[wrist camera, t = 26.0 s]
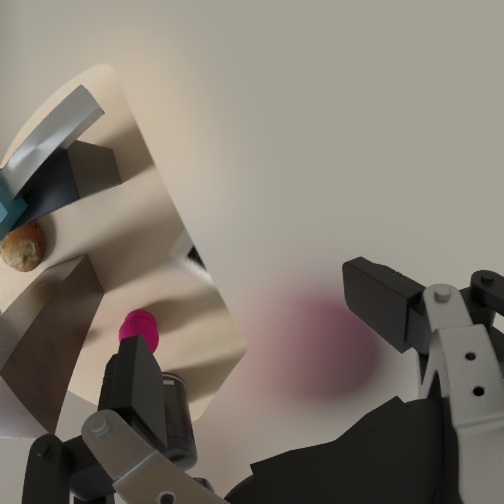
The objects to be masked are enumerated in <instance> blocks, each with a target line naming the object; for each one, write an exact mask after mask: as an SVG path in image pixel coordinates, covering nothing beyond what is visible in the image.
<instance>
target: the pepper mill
mask: <svg viewBox="0 0 504 504" xmlns="http://www.w3.org/2000/svg"><path fill="white" fill-rule="evenodd" d="M156 328H157V325H156V321H155V319H154V318H153V316H151V315H150V314H149V313H147V312H145V311H133V312H131V313H129V314H128V315H127V316H126V318H125V321H124V323H123V325H122V326H121V328H120V331H119V341H121V339H122V338H125V337H129V336H132V335H136V334H139V333H140V334H141V335H142V336H143V337H144V339H145V341H146V343H147V345H148V347H149V348H150V350H151V352H152V354H153V353H154V352H155V350H156V348H157V346H158V341H159V335H158V331H157V329H156Z"/></svg>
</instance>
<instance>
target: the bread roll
mask: <svg viewBox="0 0 504 504" xmlns="http://www.w3.org/2000/svg"><path fill="white" fill-rule="evenodd" d="M43 255H44V239H43V233H42V230H41V228H40V226H39V224H38V223H37V222H36V220H34V221H32V222H30V223H28V224H25V225H23V226H21V227H19V228H17V229H15V230H13V231H11V232H10V233H8V234H7V235H6V236H5V238H4V239H3V240H2V241H0V256H1V258H2V259H3V260H4V262H5V263H6V264H7V265H8V266H10V267H12V268H14V269H16V270H18V271H21V272H28V271H32V270H33V269H35V268H36V267H37V266H38V265H39V264H40V262H41V260H42V258H43Z"/></svg>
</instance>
